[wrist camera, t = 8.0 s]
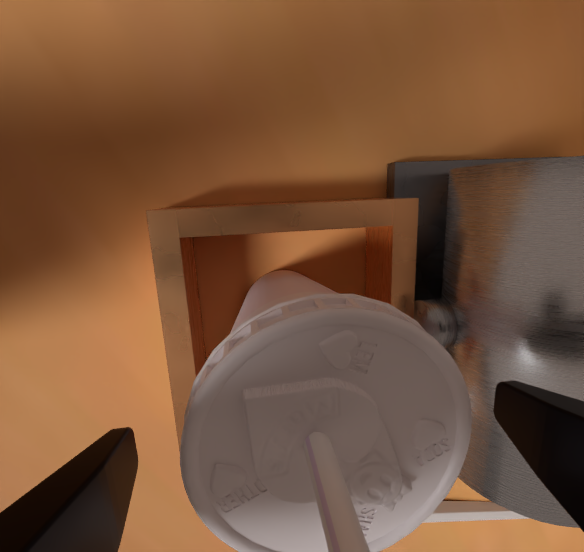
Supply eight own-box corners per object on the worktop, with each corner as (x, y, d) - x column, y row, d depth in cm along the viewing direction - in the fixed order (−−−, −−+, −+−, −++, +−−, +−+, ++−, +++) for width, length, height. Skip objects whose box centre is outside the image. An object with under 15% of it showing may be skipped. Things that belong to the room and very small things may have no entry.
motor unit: (194, 437, 17) (156, 622, 10) (160, 171, 14) (68, 143, 7) (530, 394, 20) (708, 517, 12) (562, 158, 17) (826, 126, 9)
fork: (570, 520, 24) (598, 547, 22) (293, 521, 20) (299, 554, 18) (587, 481, 23) (617, 505, 21) (303, 473, 19) (311, 502, 17)
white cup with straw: (273, 212, 15) (500, 324, 2) (373, 296, 17) (887, 686, 3) (187, 319, 16) (-134, 1016, 2) (291, 390, 17) (454, 1050, 4)
